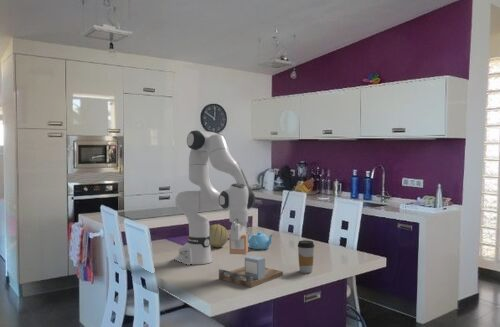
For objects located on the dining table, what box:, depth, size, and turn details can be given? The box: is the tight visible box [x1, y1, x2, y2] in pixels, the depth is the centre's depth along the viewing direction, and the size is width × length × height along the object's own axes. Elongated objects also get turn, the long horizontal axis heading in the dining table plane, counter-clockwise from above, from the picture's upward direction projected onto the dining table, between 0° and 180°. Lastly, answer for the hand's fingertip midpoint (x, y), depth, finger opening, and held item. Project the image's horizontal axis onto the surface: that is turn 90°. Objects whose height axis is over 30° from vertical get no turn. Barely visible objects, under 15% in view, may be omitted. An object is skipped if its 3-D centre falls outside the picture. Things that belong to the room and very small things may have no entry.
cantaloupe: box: [209, 222, 229, 248], centre depth 268 cm, size 15×15×15 cm
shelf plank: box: [218, 266, 284, 288], centre depth 202 cm, size 20×24×4 cm
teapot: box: [246, 230, 274, 250], centre depth 265 cm, size 15×15×10 cm
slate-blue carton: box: [244, 255, 266, 280], centre depth 195 cm, size 5×8×9 cm, turn 50°
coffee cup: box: [297, 239, 315, 274], centre depth 212 cm, size 8×8×15 cm
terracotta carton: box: [228, 233, 249, 256], centre depth 202 cm, size 5×8×9 cm, turn 79°
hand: (238, 246), depth 202 cm, fingers closed on terracotta carton, 5 cm apart
